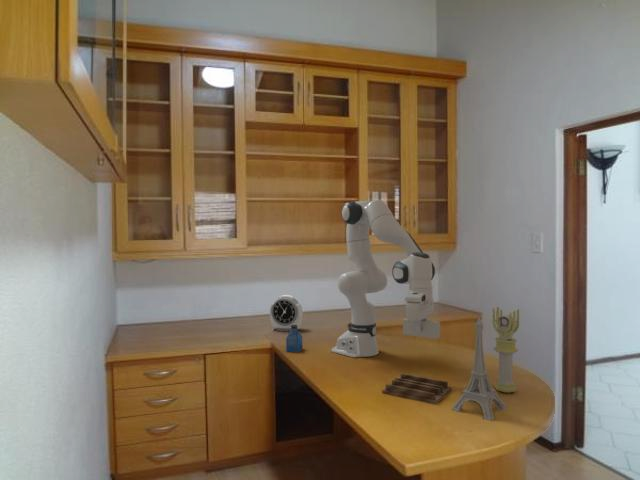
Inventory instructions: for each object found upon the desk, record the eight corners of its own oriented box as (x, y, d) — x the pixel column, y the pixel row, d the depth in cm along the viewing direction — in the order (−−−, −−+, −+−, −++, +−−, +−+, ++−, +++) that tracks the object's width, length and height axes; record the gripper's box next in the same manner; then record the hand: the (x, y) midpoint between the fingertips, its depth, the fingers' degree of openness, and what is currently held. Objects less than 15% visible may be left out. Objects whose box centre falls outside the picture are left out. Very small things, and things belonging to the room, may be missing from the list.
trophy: (489, 390, 166) (490, 308, 165) (499, 385, 171) (499, 305, 170) (512, 396, 160) (512, 311, 159) (521, 391, 165) (521, 308, 164)
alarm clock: (269, 331, 263) (268, 296, 263) (274, 327, 272) (273, 293, 271) (299, 332, 259) (298, 296, 258) (303, 329, 267) (302, 294, 267)
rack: (382, 392, 165) (382, 384, 165) (400, 380, 178) (400, 372, 178) (436, 404, 154) (436, 395, 154) (451, 389, 167) (451, 381, 167)
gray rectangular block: (403, 334, 181) (402, 319, 181) (406, 333, 184) (405, 318, 183) (437, 338, 173) (437, 323, 173) (440, 337, 176) (440, 321, 176)
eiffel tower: (507, 408, 151) (507, 317, 150) (491, 421, 141) (491, 324, 140) (468, 398, 160) (468, 312, 159) (450, 410, 150) (450, 318, 149)
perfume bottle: (302, 348, 225) (302, 324, 225) (298, 352, 219) (298, 327, 219) (290, 348, 227) (290, 323, 226) (286, 351, 221) (285, 326, 220)
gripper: (422, 290, 189) (422, 324, 189) (403, 297, 171) (403, 334, 172) (437, 291, 185) (437, 325, 185) (419, 298, 168) (419, 336, 168)
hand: (421, 329), depth 178 cm, fingers closed on gray rectangular block, 3 cm apart
